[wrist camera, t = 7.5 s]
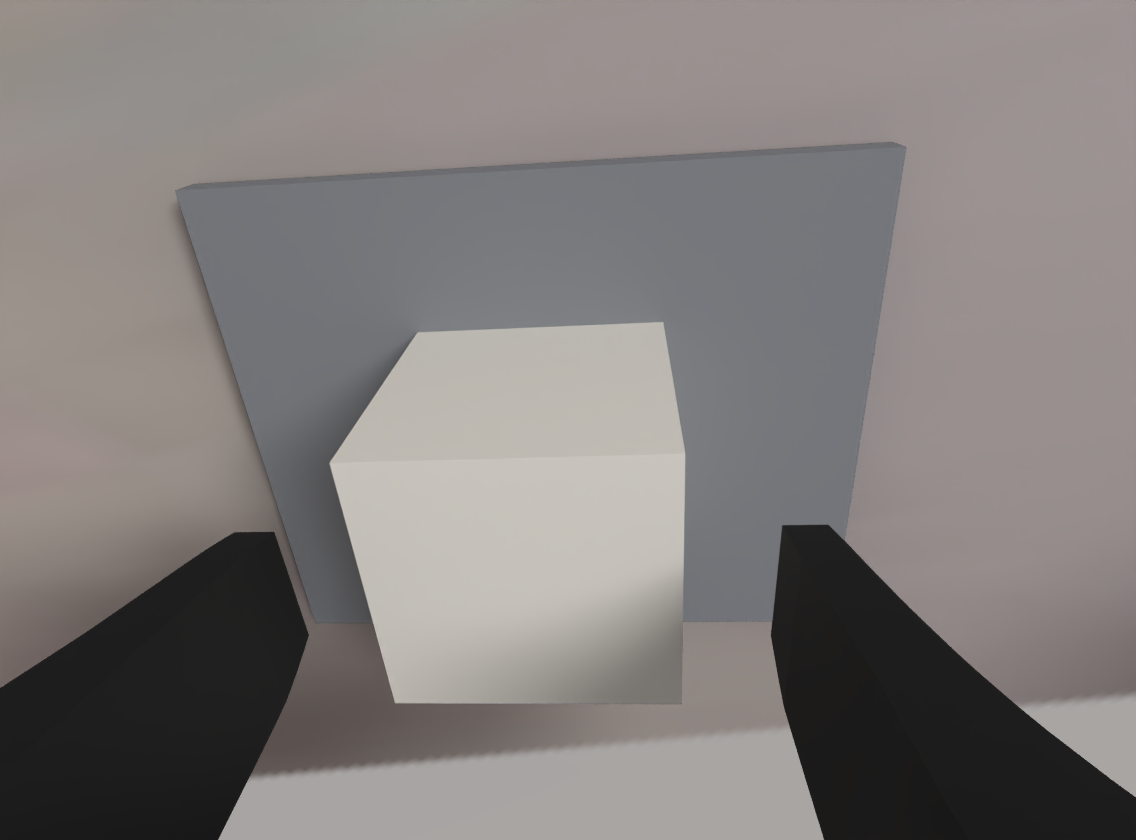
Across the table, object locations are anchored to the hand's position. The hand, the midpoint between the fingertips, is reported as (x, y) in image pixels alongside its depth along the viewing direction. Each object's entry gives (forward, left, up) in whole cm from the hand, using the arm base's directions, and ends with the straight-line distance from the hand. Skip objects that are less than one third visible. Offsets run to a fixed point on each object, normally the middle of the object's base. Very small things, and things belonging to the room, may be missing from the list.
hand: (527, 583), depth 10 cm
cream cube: (0, 0, -4) cm, 4 cm away
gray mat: (0, 0, -5) cm, 5 cm away
